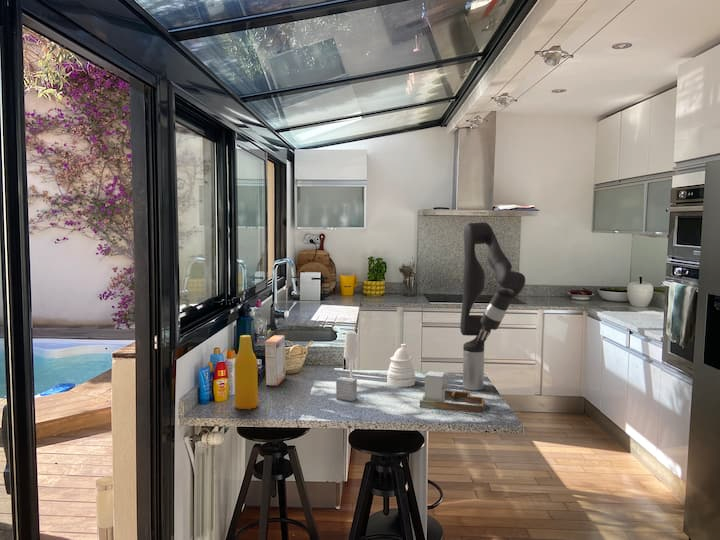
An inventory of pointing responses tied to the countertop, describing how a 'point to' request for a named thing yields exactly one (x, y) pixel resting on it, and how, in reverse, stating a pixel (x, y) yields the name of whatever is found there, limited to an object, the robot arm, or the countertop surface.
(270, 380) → the cracker box
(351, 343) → the champagne flute
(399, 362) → the honey pot
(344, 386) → the medicine box
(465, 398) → the wooden tray
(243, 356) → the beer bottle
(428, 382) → the supplement box
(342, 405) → the countertop surface
